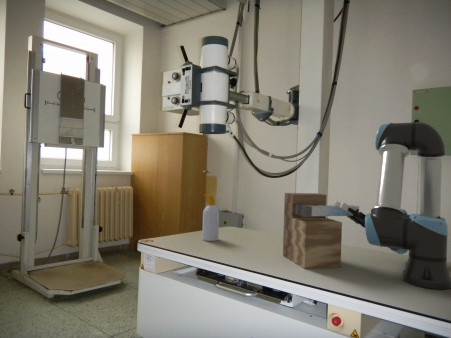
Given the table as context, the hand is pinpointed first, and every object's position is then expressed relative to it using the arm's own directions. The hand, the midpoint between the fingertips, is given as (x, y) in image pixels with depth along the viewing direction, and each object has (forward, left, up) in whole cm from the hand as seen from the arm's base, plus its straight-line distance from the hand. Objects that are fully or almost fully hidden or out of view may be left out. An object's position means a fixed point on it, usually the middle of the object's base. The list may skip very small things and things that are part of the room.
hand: (338, 204), depth 143 cm
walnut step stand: (+5, +9, -25) cm, 27 cm away
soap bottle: (+53, +42, -25) cm, 72 cm away
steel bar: (0, +4, -5) cm, 6 cm away
